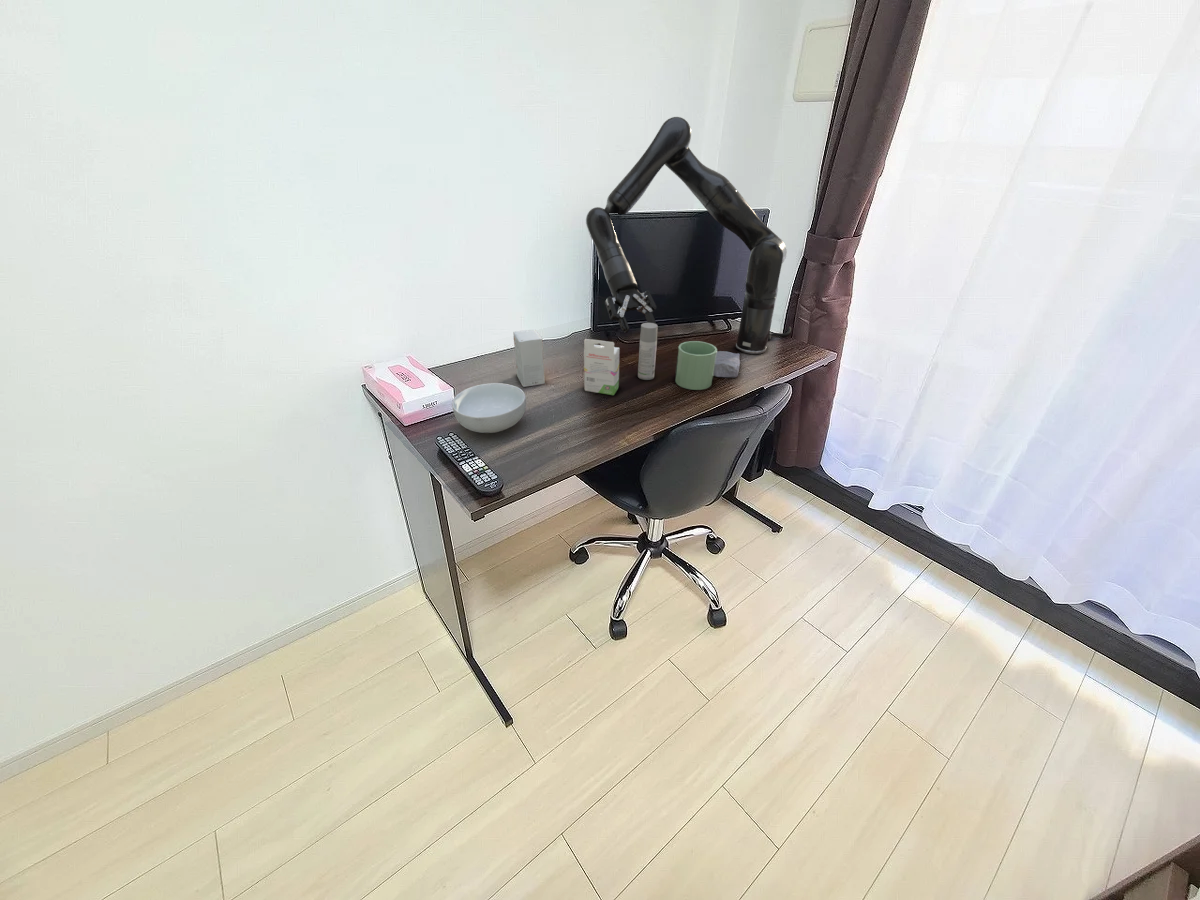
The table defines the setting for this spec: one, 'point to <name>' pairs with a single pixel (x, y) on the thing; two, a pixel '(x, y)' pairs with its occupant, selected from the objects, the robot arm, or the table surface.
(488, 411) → the cereal bowl
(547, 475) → the table surface
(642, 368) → the container
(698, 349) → the pen cup
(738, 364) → the stone block
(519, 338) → the small box
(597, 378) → the ink box
